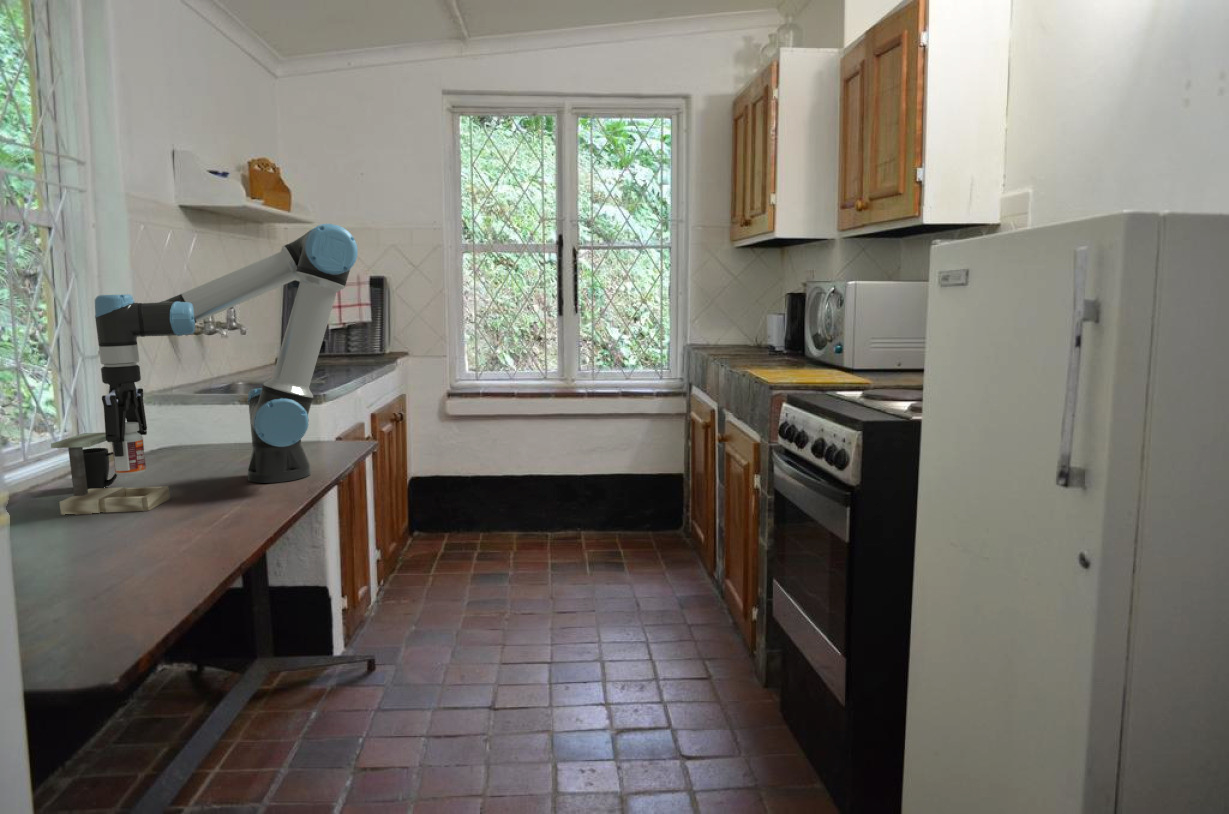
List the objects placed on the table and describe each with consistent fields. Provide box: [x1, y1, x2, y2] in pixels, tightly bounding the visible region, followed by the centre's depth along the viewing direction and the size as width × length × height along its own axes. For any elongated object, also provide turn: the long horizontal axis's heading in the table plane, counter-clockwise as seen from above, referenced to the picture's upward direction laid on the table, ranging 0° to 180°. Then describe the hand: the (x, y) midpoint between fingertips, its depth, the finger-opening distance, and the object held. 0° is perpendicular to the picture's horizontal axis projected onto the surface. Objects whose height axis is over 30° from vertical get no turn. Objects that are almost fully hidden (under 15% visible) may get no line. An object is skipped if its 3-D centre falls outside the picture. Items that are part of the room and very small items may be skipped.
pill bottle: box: [111, 421, 147, 477], centre depth 198 cm, size 6×6×11 cm
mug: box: [83, 447, 118, 489], centre depth 218 cm, size 8×12×10 cm
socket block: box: [50, 431, 171, 516], centre depth 199 cm, size 18×13×16 cm
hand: (130, 467), depth 199 cm, fingers closed on pill bottle, 6 cm apart
